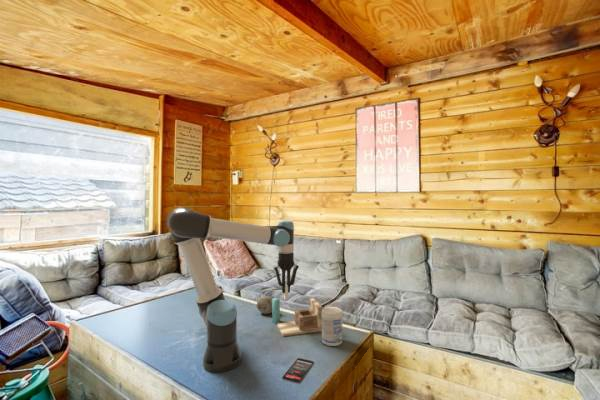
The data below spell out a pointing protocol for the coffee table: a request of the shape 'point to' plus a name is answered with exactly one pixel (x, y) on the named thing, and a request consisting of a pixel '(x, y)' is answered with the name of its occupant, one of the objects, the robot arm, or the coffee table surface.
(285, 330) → the jig
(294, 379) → the smartphone
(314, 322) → the block
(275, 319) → the dowel
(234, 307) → the robot arm
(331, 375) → the coffee table surface
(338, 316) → the supplement tub
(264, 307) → the decorative stone
